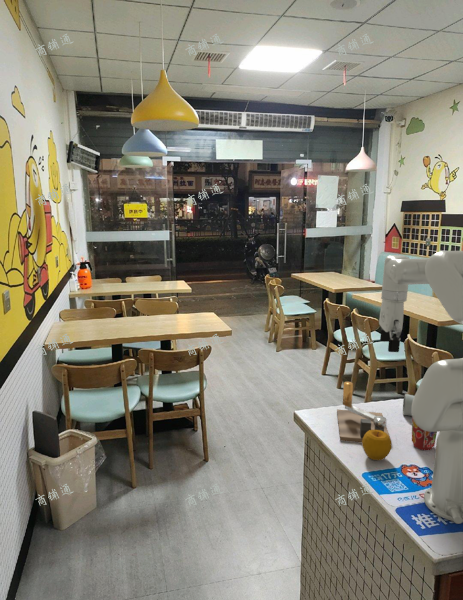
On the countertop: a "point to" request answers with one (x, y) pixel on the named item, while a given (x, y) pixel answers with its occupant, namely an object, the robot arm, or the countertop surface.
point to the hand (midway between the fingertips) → (389, 346)
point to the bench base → (355, 426)
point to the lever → (347, 401)
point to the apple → (376, 444)
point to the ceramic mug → (407, 404)
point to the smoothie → (422, 438)
